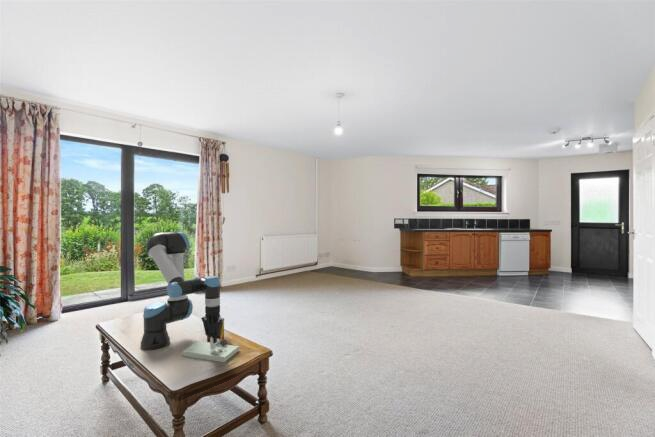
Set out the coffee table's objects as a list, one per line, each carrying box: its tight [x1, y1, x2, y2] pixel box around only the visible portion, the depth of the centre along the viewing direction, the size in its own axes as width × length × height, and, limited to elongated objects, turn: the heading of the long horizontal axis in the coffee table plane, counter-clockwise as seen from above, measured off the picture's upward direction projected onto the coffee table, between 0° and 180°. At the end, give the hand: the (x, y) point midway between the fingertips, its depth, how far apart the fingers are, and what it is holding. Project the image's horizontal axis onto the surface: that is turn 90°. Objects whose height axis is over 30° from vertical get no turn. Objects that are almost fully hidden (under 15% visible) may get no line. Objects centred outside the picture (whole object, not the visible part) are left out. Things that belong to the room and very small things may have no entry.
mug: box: [206, 317, 225, 342], centre depth 194 cm, size 10×14×12 cm
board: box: [181, 340, 240, 363], centre depth 179 cm, size 26×14×2 cm, turn 74°
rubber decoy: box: [219, 339, 227, 346], centre depth 183 cm, size 3×3×3 cm
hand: (213, 348), depth 176 cm, fingers closed
